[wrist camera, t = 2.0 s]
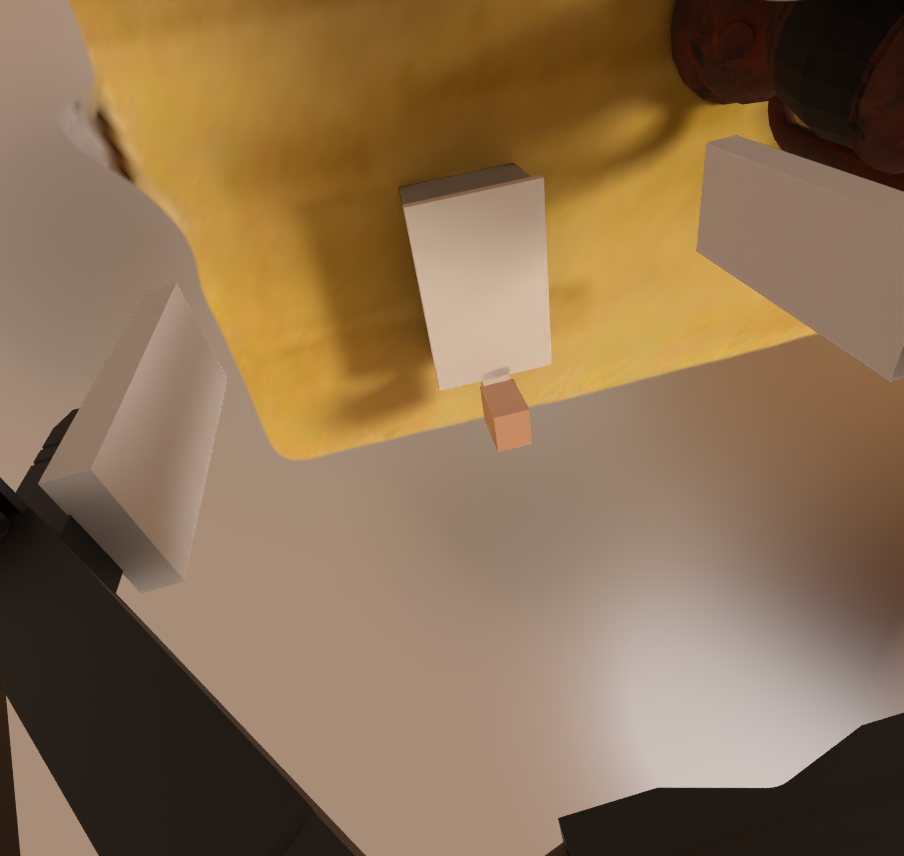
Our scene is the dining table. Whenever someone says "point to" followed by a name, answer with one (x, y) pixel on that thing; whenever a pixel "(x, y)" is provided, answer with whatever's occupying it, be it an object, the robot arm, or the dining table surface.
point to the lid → (485, 293)
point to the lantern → (806, 74)
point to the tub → (460, 184)
